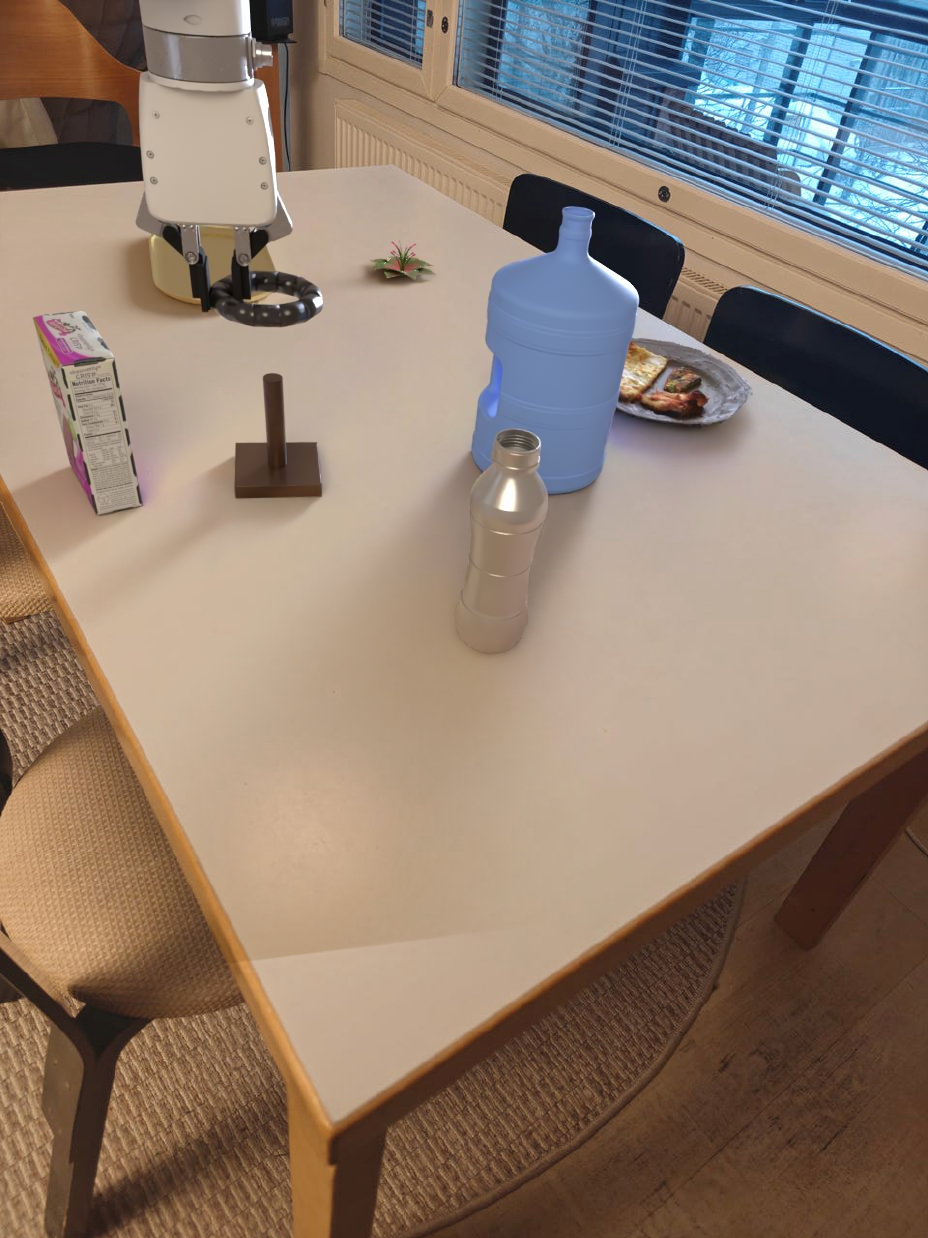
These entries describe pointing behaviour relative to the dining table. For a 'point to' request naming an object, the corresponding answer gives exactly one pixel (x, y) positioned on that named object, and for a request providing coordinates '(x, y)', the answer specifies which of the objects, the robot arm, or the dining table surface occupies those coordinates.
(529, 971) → the dining table surface
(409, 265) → the lily flower
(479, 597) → the plastic bottle
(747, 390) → the food plate
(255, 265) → the serving platter
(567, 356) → the water jug
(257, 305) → the ring
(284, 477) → the post
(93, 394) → the candy bar box
